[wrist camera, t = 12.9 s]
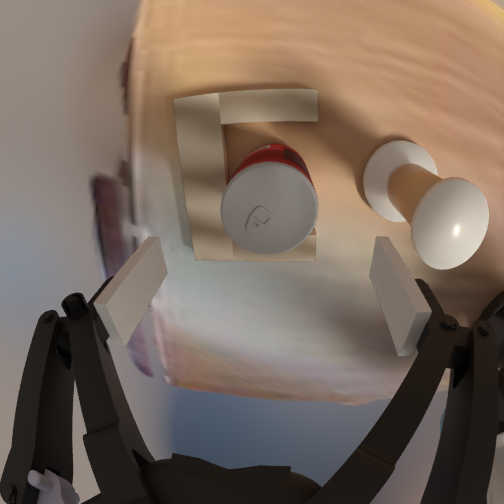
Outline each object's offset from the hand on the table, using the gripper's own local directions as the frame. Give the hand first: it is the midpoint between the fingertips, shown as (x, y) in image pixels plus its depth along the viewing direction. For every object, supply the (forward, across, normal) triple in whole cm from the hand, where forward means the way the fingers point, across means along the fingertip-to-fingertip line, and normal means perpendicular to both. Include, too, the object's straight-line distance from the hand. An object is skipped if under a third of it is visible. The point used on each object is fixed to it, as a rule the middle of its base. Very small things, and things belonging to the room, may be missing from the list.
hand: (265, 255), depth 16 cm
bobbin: (+17, -15, 0) cm, 23 cm away
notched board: (+17, +3, 0) cm, 17 cm away
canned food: (+17, 0, 0) cm, 17 cm away
